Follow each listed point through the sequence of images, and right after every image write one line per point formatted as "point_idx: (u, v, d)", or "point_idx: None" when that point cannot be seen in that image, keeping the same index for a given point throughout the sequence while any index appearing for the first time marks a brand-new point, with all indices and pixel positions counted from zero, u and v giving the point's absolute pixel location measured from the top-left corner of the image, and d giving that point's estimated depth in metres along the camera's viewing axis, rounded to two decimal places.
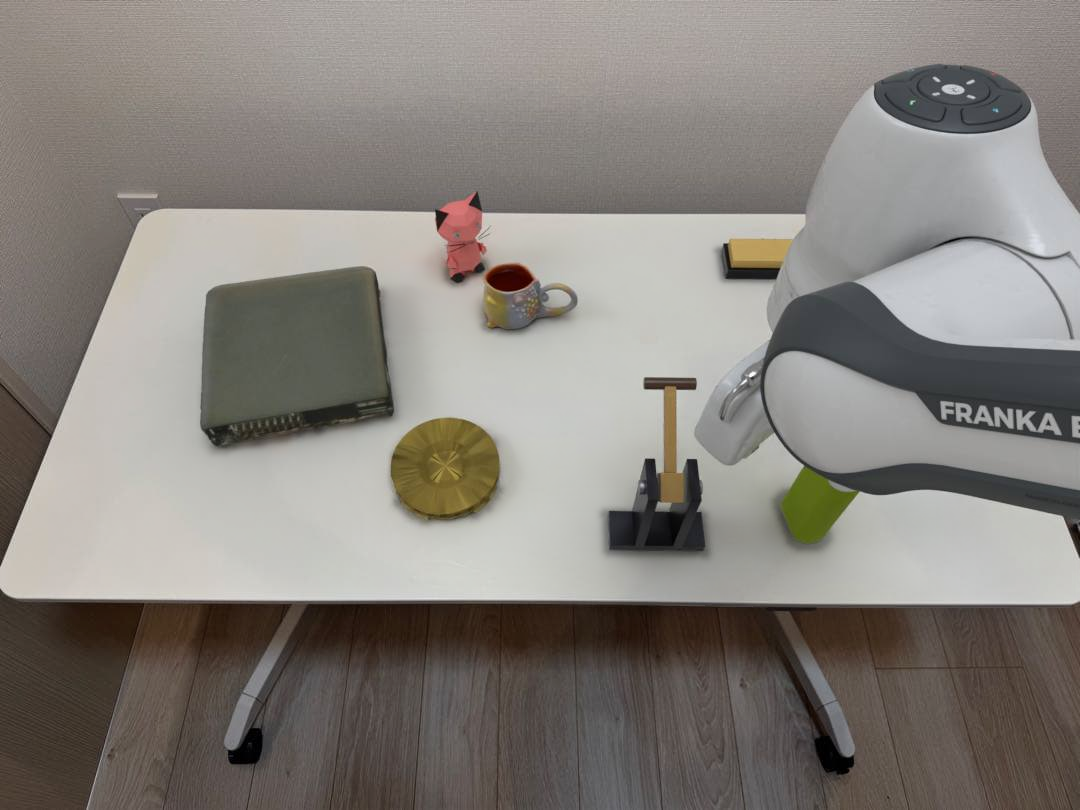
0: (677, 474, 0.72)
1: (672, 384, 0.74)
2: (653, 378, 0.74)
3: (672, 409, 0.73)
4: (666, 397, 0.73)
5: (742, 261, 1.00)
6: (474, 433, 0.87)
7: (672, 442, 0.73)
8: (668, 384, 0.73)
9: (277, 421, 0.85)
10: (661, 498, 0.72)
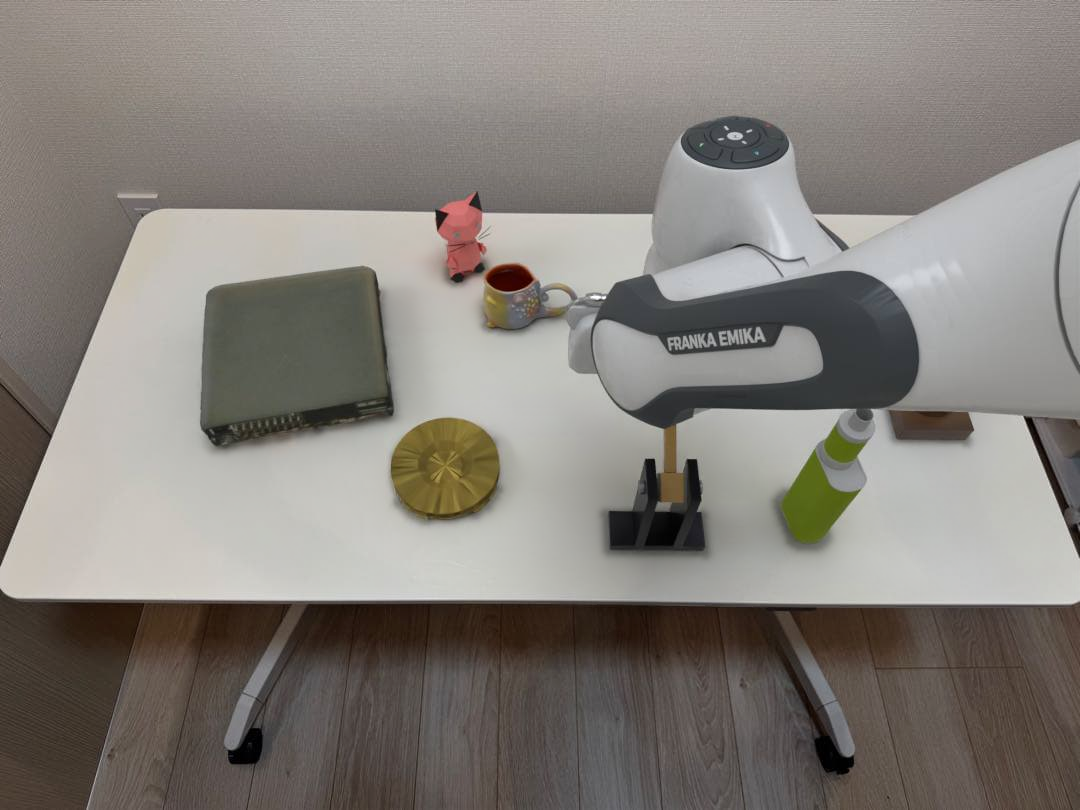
0: (677, 474, 0.72)
1: None
2: None
3: None
4: None
5: None
6: (474, 433, 0.87)
7: (672, 442, 0.73)
8: None
9: (277, 421, 0.85)
10: (661, 498, 0.72)
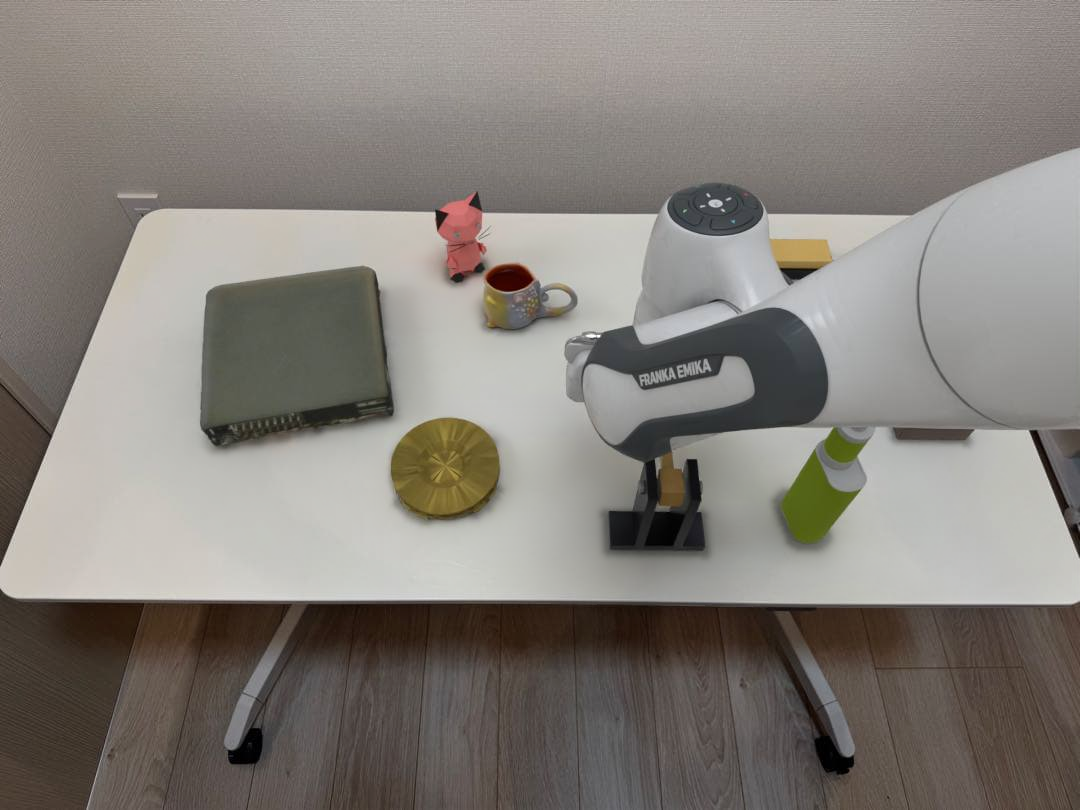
0: (675, 469, 0.73)
1: None
2: None
3: None
4: None
5: None
6: (474, 433, 0.87)
7: None
8: None
9: (277, 421, 0.85)
10: (662, 488, 0.72)
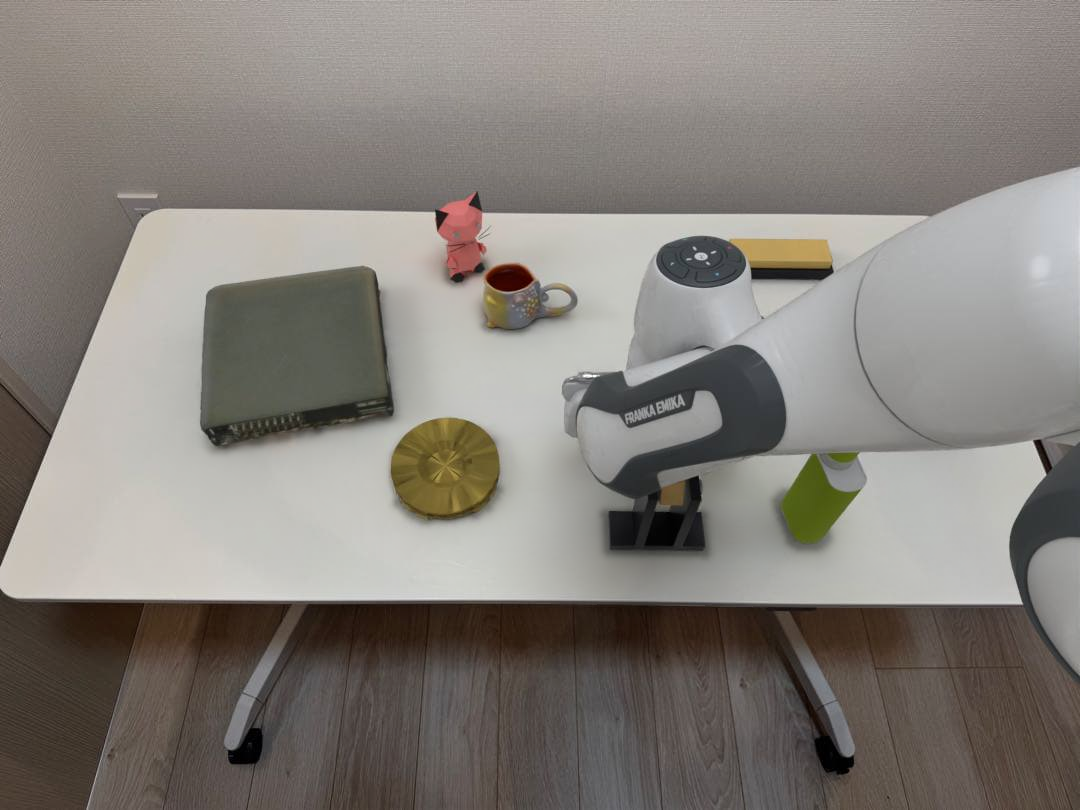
0: None
1: None
2: None
3: None
4: None
5: None
6: (474, 433, 0.87)
7: None
8: None
9: (277, 421, 0.85)
10: None
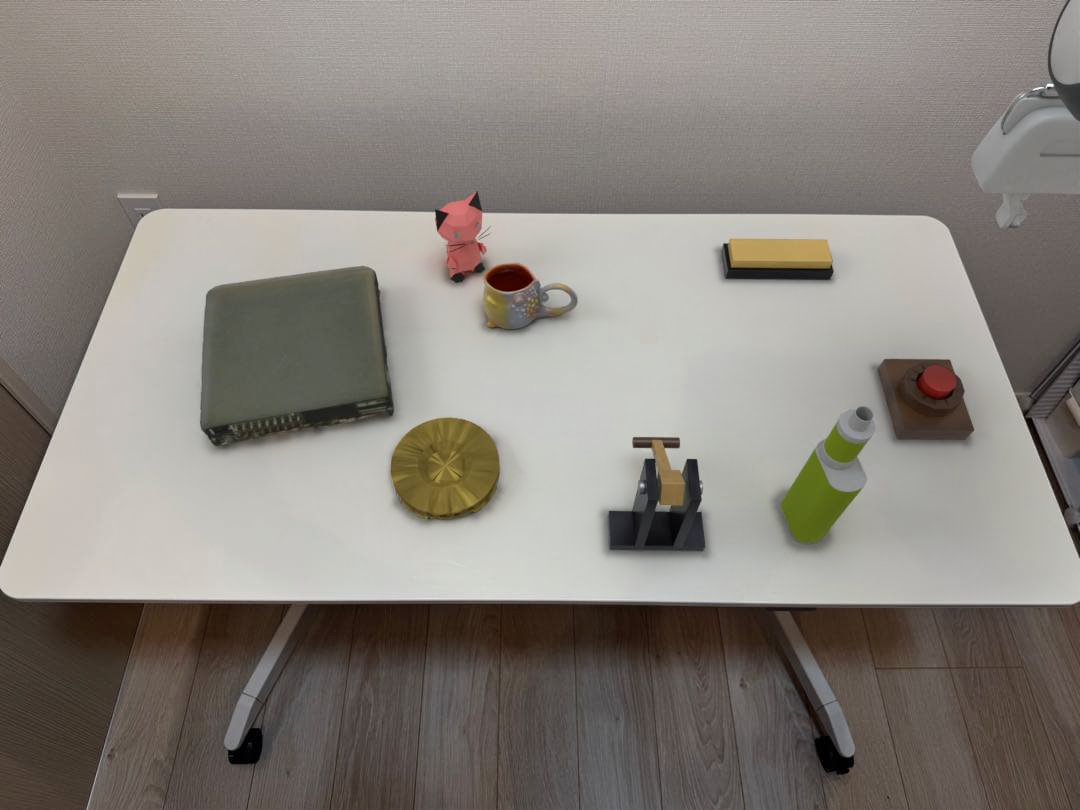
0: (674, 470, 0.74)
1: (658, 438, 0.82)
2: None
3: (661, 448, 0.80)
4: (654, 444, 0.81)
5: (742, 261, 1.00)
6: (474, 433, 0.87)
7: (665, 462, 0.77)
8: (654, 438, 0.82)
9: (277, 421, 0.85)
10: (661, 481, 0.72)
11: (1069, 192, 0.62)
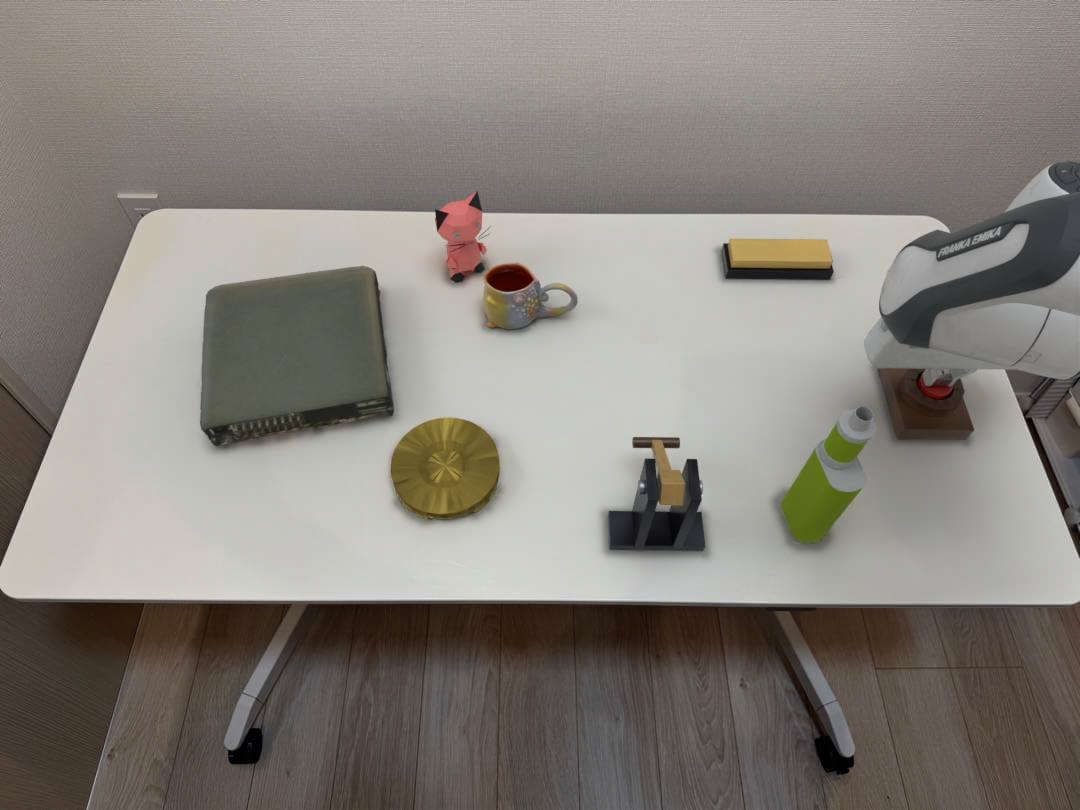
0: (674, 470, 0.74)
1: (658, 438, 0.82)
2: None
3: (661, 448, 0.80)
4: (654, 444, 0.81)
5: (742, 261, 1.00)
6: (474, 433, 0.87)
7: (665, 462, 0.77)
8: (654, 438, 0.82)
9: (277, 421, 0.85)
10: (661, 481, 0.72)
11: (936, 368, 0.83)
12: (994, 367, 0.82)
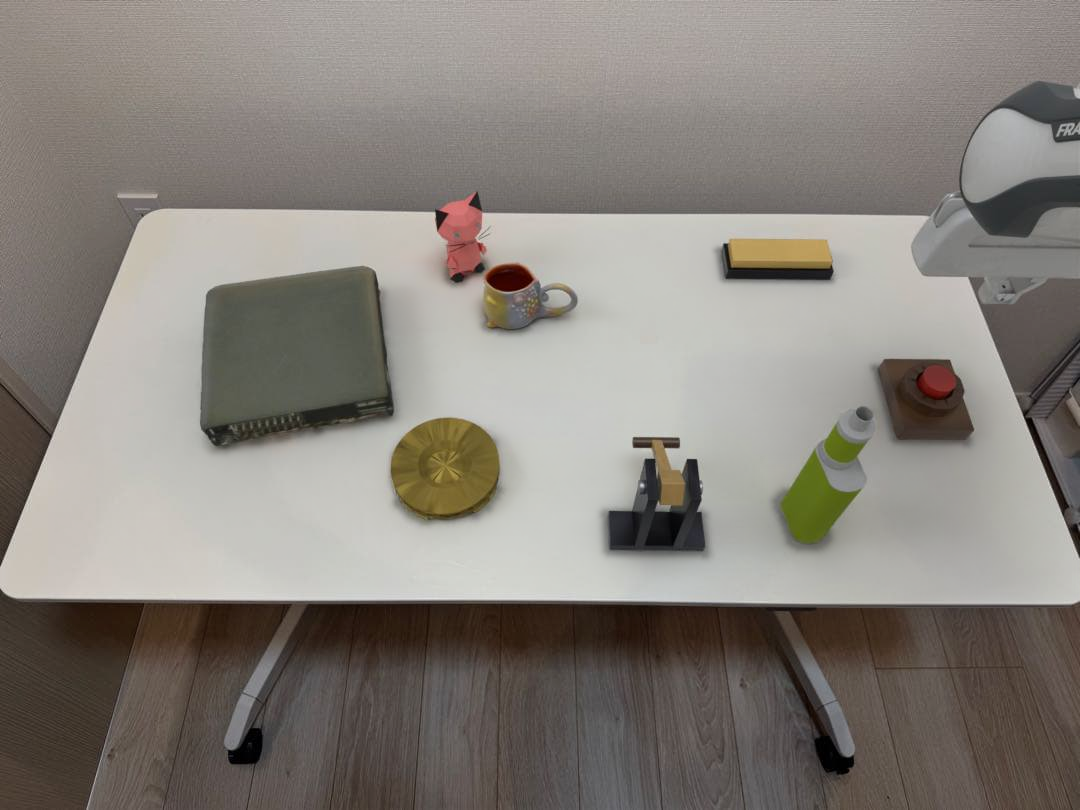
0: (674, 470, 0.74)
1: (658, 438, 0.82)
2: None
3: (661, 448, 0.80)
4: (654, 444, 0.81)
5: (742, 261, 1.00)
6: (474, 433, 0.87)
7: (665, 462, 0.77)
8: (654, 438, 0.82)
9: (277, 421, 0.85)
10: (661, 481, 0.72)
11: (998, 276, 0.69)
12: (1069, 275, 0.68)
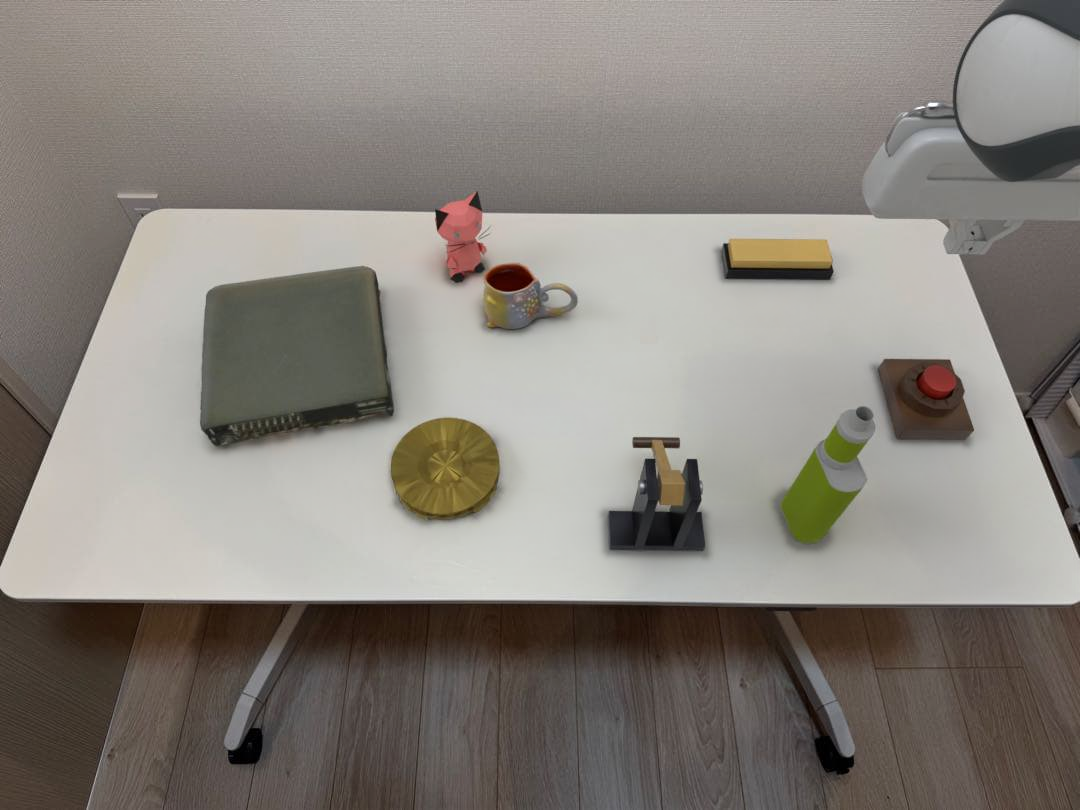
0: (674, 470, 0.74)
1: (658, 438, 0.82)
2: None
3: (661, 448, 0.80)
4: (654, 444, 0.81)
5: (742, 261, 1.00)
6: (474, 433, 0.87)
7: (665, 462, 0.77)
8: (654, 438, 0.82)
9: (277, 421, 0.85)
10: (661, 481, 0.72)
11: (965, 217, 0.58)
12: (1048, 216, 0.57)
